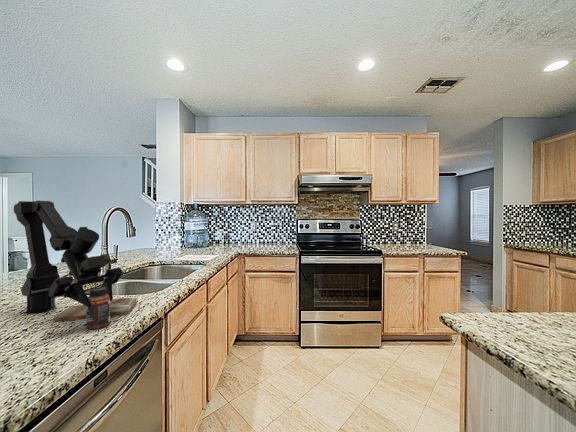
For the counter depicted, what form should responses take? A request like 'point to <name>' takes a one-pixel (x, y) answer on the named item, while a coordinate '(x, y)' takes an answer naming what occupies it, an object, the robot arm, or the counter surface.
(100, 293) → the supplement bottle
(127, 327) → the counter surface
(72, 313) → the walnut board
